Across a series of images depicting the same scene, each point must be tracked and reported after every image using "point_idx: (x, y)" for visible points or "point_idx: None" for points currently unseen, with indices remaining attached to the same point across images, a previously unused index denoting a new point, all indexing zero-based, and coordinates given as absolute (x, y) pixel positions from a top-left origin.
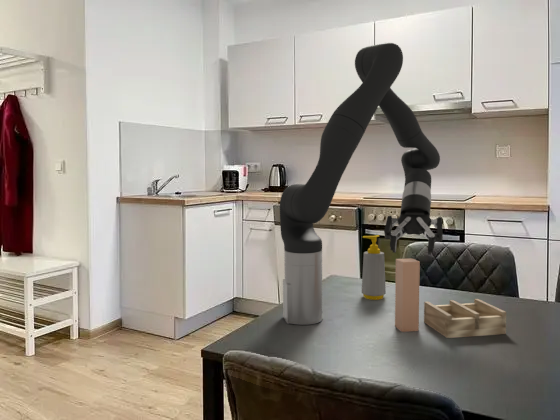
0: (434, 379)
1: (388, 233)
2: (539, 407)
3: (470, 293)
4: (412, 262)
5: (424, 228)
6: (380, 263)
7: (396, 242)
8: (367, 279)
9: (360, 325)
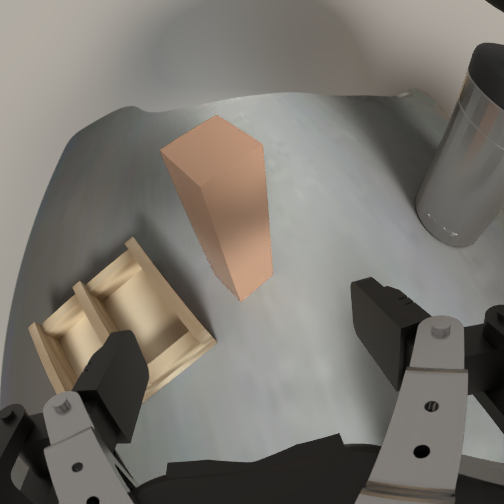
0: (162, 127)
1: (483, 329)
2: (77, 139)
3: None
4: (185, 135)
5: (92, 439)
6: None
7: (387, 362)
8: (466, 457)
9: (343, 239)
